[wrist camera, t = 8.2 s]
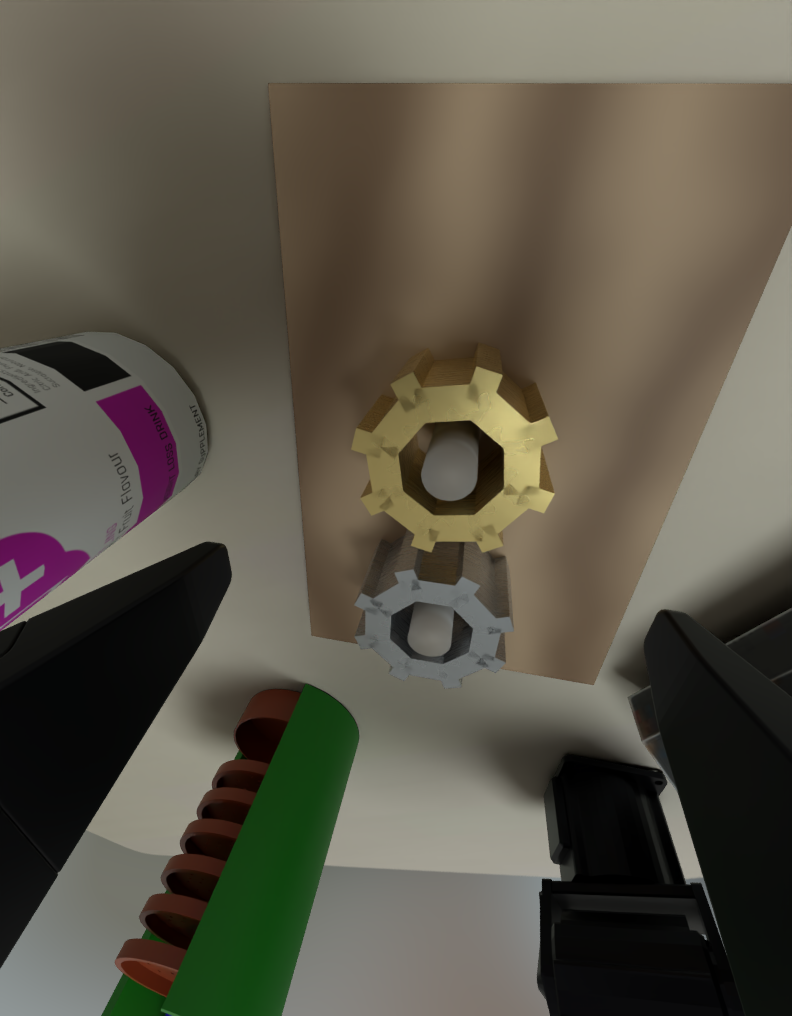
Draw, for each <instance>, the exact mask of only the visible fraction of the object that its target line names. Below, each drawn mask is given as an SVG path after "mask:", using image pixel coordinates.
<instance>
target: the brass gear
mask: <svg viewBox="0 0 792 1016" xmlns="http://www.w3.org/2000/svg"><path fill="white" fill-rule="evenodd" d="M390 385H391V387H392V389H393V390H394V392H395V394H396V397H395V398H391V397H388V396H385V395H382V394H381V396H380V397H379V398H378V400H377V401H376V402H375V404H374V405H373V406H372V408H371V409H370V410H369V412H368V413H367V414H366V416H365V417H364V418H363V420H362V421H361V422H360V423H359V425H358V426H357V427H356V431H355V435H354V439H353V443H352V448H351V450H354V451H357V452H360V453H363V454H366V457H367V463H368V469H369V475H370V480H369V482H368V484H367V486H366V488H365V490H364V492H363V494H362V495H361V497H360V499H361V500H362V502H363V504H364V505H365V507H366V508H367V510H368V511H369V513H370V514H371V516H372V515H375V514H377V513H380V512H382V511H385V512H386V513H387V514H389V515H390V516H391V517H393V518H394V519H395V520H397V521H398V522H399V523H400V524H402V525H403V526H404V527H406V528H407V529H408V530H410V531H411V532H412V533H414V536H413V540H412V543H411V546H413V547H416V548H419V549H422V550H425V551H428V552H432V550H433V547H434V545H435V542H477V544H478V546H479V547H480V549H481V551H482V553H483V552H486V551H489V550H492V549H495V548H498V547H502V546H503V529H504V528H506V527H507V526H508V525H509V524H510V523H512V522H513V521H514V520H515V519H516V518H518V517H519V516H520V515H521V514H522V513H524V512H525V511H526V510H527V509H528V508H529V509H532V510H535V511H538V512H541V513H544V512H545V511H546V509H547V507H548V505H549V503H550V501H551V500H552V498H553V496H554V494H555V492H554V489H553V485H552V482H551V478H550V475H549V471H548V468H547V464H546V461H545V457H544V454H543V450H542V447H541V446H543V445H546V444H548V443H551V442H553V441H555V440H558V437H557V435H556V432H555V430H554V427H553V425H552V422H551V419H550V417H549V414H548V412H547V409H546V406H545V404H544V401H543V399H542V396H541V394H540V392H539V389H538V387H537V384H536V383H534V384H531V385H529V386H527V387H525V388H523V389H521V388H520V387H519V386H518V385H517V384H516V383H515V382H514V381H513V380H512V379H510V378H509V377H508V376H507V375H506V374H505V373H504V372H503V371H502V364H501V357H500V350H499V349H497V348H494V347H491V346H488V345H485V344H482V343H478V346H477V349H476V351H475V354H474V357H467V358H456V359H446V360H434V358H433V356H432V354H431V352H430V350H429V348H426V349H425V350H423V351H421V352H419V353H417V354H416V355H414V356H412V357H410V358H409V360H408V361H407V362H406V364H405V365H404V366H403V368H402V369H401V370H400V372H399V373H398V374H397V376H396V377H395V378H394V380H393V381H392V382H391V384H390ZM465 420H471V421H472V422H473V423H475V424H476V425H477V426H478V427H479V428H480V429H482V430H483V431H484V432H485V433H486V434H487V435H489V436H490V437H491V438H492V439H493V440H494V441H496V442H497V443H498V444H499V446H498V447H497V448H496V449H495V450H494V451H493V452H492V453H491V454H490V455H489V456H488V457H486V458H485V459H484V460H483V461H482V462H481V463H480V464H479V465H478V472H477V482H476V485H475V487H474V489H473V490H472V492H471V493H470V494H468V495H467V496H466V497H464V498H462V499H459V500H455V501H445V500H441V499H438V498H436V497H434V496H432V495H431V494H430V493H429V492H428V491H427V490H426V489H425V487H424V485H423V483H422V478H421V472H422V468H423V464H424V461H425V458H426V453H425V452H423V451H422V450H421V449H420V448H419V447H418V438H417V432H418V431H419V430H420V428H421V427H422V426H423V425H424V424H425V423H433V422H449V421H465Z"/></svg>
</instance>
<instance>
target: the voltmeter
mask: <svg viewBox="0 0 792 1016" xmlns="http://www.w3.org/2000/svg"><path fill="white" fill-rule="evenodd" d="M725 645H727V646H728V647H729V648H730V649H732V650H733V651H734V652H735V653H737V654H738V655H739V656H741V657H742V658H743V659H744V660H746V661H747V662H748V663H749V664H751V665H752V666H753V667H754V668H756V669H757V670H758V671H759V672H761V673H762V674H763V675H764V676H766V677H767V678H768V679H770V680H771V681H772V682H773V683H775V684H776V685H777V686H778V687H780V688H781V689H782V690H783V691H785V692H786V693H787V694H788V695H790V696H791V697H792V608H790V609H788V610H787V611H785V612H783V613H781V614H779V615H777V616H776V617H774V618H772V619H770V620H768V621H766V622H765V623H763V624H761V625H759V626H757V627H755V628H754V629H752V630H750V631H748V632H746V633H744V634H743V635H741V636H739V637H737V638H735V639H734V640H732V641H730V642H728V643H726V644H725ZM628 700H629V703H630V706H631V709H632V712H633V715H634V719H635V722H636V725H637V728H638V731H639V734H640V737H641V741H642V742H643V744H644V745H645V747H646V748H647V750H648V751H649V752H650V754H651V755H652V757H653V758H654V759H655V761H656V762H657V764H658V765H659V767H660V768H661V769H662V771H663V772H664V774H665V775H666V777H667V778H668V779H669V781H670V782H671V784H672V785H673V786H674V788H675V789H676V791H677V788H676V785H675V782H674V778H673V775H672V772H671V768H670V765H669V762H668V758H667V755H666V752H665V748H664V745H663V742H662V738H661V735H660V731H659V727H658V723H657V719H656V714H655V708H654V703H653V697H652V692H651V686H648V687H646V688H644V689H642V690H640V691H639V692H637V693H635V694H633V695H631V696H629V697H628ZM677 792H678V791H677Z"/></svg>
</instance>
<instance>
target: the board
mask: <svg viewBox="0 0 792 1016" xmlns="http://www.w3.org/2000/svg"><path fill="white" fill-rule="evenodd" d="M268 89H269V102H270V115H271V127H272V140H273V153H274V166H275V178H276V191H277V204H278V216H279V229H280V242H281V254H282V267H283V280H284V292H285V305H286V318H287V330H288V343H289V356H290V368H291V381H292V394H293V406H294V419H295V432H296V444H297V457H298V470H299V483H300V495H301V508H302V521H303V533H304V546H305V559H306V571H307V584H308V597H309V609H310V622H311V635H312V636H316V637H322V638H328V639H333V640H339V641H345V642H351V643H356V644H358V643H357V641H356V639H355V637H354V636H355V633H356V630H357V627H358V625H359V622H360V619H361V616H362V613H363V609H361V608H359V607H357V606H355V605H354V604H355V602H356V599H357V596H358V594H359V591H360V588H361V586H362V583H363V580H364V578H365V575H366V573H367V570H368V567H369V565H370V562H371V559H372V557H373V554H374V551H375V549H376V547H377V546H378V544H379V542H380V540H381V539H383V540H385V541H387V542H389V543H393V542H394V541H396V540H397V539H399V538H400V537H402V536H403V535H405V534H406V531H407V528H406V527H404V526H403V525H402V524H400V523H399V522H398V521H397V520H395V519H394V518H393V517H391V516H390V515H389V514H387V513H386V512H385V511H382V512H380V513H377V514H375V515H372V516H371V514H370V513H369V511H368V510H367V508H366V507H365V505H364V504H363V502H362V500H361V499H360V497H361V495H362V494H363V492H364V490H365V488H366V486H367V484H368V482H369V480H370V475H369V469H368V463H367V457H366V454H363V453H360V452H357V451H354V450H351V448H352V443H353V439H354V435H355V431H356V427H357V426H358V425H359V423H360V422H361V421H362V420H363V418H364V417H365V416H366V414H367V413H368V412H369V410H370V409H371V408H372V406H373V405H374V404H375V402H376V401H377V400H378V398H379V397H380V396H381V394H382V395H385V396H388V397H391V398H395V397H396V394H395V392H394V390H393V389H392V387H391V385H390V384H391V382H392V381H393V380H394V378H395V377H396V376H397V374H398V373H399V372H400V370H401V369H402V368H403V366H404V365H405V364H406V362H407V361H408V360H409V358H410V357H412V356H414V355H416V354H417V353H419V352H421V351H423V350H425V349H426V348H429V350H430V352H431V354H432V356H433V358H434V360H446V359H456V358H467V357H474V354H475V351H476V349H477V346H478V343H482V344H485V345H488V346H491V347H494V348H497V349H499V350H500V357H501V364H502V371H503V372H504V373H505V374H506V375H507V376H508V377H509V378H510V379H512V380H513V381H514V382H515V383H516V384H517V385H518V386H519V387H520V388H521V389H523V388H525V387H527V386H529V385H531V384H534V383H536V384H537V387H538V389H539V392H540V394H541V396H542V399H543V401H544V404H545V406H546V409H547V412H548V414H549V417H550V419H551V422H552V425H553V427H554V430H555V432H556V435H557V437H558V440H555V441H553V442H551V443H548V444H546V445H543V446H541V447H542V450H543V454H544V457H545V461H546V464H547V468H548V471H549V475H550V478H551V482H552V485H553V489H554V492H555V494H554V496H553V498H552V500H551V501H550V503H549V505H548V507H547V509H546V511H545V512H544V513H541V512H538V511H535V510H532V509H529V508H528V509H527V510H526V511H525V512H524V513H522V514H521V515H520V516H519V517H518V518H516V519H515V520H514V521H513V522H512V523H510V524H509V525H508V526H507V527H506V528H504V529H503V546H502V547H498V548H495V549H492V550H489V551H488V552H489V553H490V554H491V555H492V556H493V557H494V558H498V557H504V556H506V559H507V562H508V566H509V569H510V582H511V595H512V609H513V623H514V631H513V632H505V653H506V663H505V664H504V665H503V666H502V667H501V668H500V669H505V670H510V671H516V672H522V673H527V674H533V675H539V676H545V677H550V678H556V679H562V680H567V681H573V682H579V683H585V684H590V685H594V683H595V681H596V678H597V676H598V674H599V671H600V669H601V667H602V664H603V662H604V660H605V657H606V655H607V653H608V651H609V648H610V646H611V644H612V641H613V639H614V637H615V634H616V632H617V630H618V627H619V625H620V623H621V620H622V618H623V616H624V613H625V611H626V609H627V606H628V604H629V602H630V599H631V597H632V595H633V592H634V590H635V588H636V586H637V583H638V581H639V579H640V576H641V574H642V572H643V569H644V567H645V565H646V562H647V560H648V558H649V555H650V553H651V551H652V548H653V546H654V544H655V541H656V539H657V537H658V534H659V532H660V530H661V528H662V525H663V523H664V521H665V518H666V516H667V514H668V511H669V509H670V507H671V504H672V502H673V500H674V497H675V495H676V493H677V490H678V488H679V486H680V483H681V481H682V479H683V476H684V474H685V472H686V470H687V467H688V465H689V463H690V460H691V458H692V456H693V453H694V451H695V449H696V446H697V444H698V442H699V439H700V437H701V435H702V432H703V430H704V428H705V425H706V423H707V421H708V418H709V416H710V414H711V412H712V409H713V407H714V405H715V402H716V400H717V398H718V395H719V393H720V391H721V388H722V386H723V384H724V381H725V379H726V377H727V374H728V372H729V370H730V367H731V365H732V363H733V360H734V358H735V356H736V354H737V351H738V349H739V347H740V344H741V342H742V340H743V337H744V335H745V333H746V330H747V328H748V326H749V323H750V321H751V319H752V316H753V314H754V312H755V309H756V307H757V305H758V302H759V300H760V298H761V296H762V293H763V291H764V289H765V286H766V284H767V282H768V279H769V277H770V275H771V272H772V270H773V268H774V265H775V263H776V261H777V258H778V256H779V254H780V251H781V249H782V247H783V244H784V242H785V240H786V238H787V235H788V233H789V231H790V228H791V226H792V84H534V83H268ZM417 438H418V447H419V448H420V449H421V450H422V451H423V452H425V453H426V458H425V461H424V464H423V468H422V472H421V478H422V483H423V485H424V487H425V489H426V490H427V491H428V492H429V493H430V494H431V495H432V496H434V497H436V498H438V499H441V500H445V501H455V500H459V499H462V498H464V497H466V496H467V495H468V494H470V493H471V492H472V490H473V489H474V487H475V485H476V482H477V472H478V465H479V464H480V463H481V462H482V461H483V460H484V459H485V458H486V457H488V456H489V455H490V454H491V453H492V452H493V451H494V450H495V449H496V448H497V447H498V446H499V444H498V443H497V442H496V441H494V440H493V439H492V438H491V437H490V436H489V435H487V434H486V433H485V432H484V431H483V430H482V429H480V428H479V427H478V426H477V425H476V424H475V423H473V422H472V421H471V420H465V421H449V422H433V423H425V424H424V425H423V426H422V427H421V428H420V430H419V431H418V432H417ZM453 617H454V609H453V608H452V607H449V606H443V605H437V604H431V603H424V602H418V601H416V602H415V604H414V609H413V614H412V619H411V624H410V628H409V633H408V643H409V645H410V647H411V648H412V649H413V650H414V651H416V652H417V653H419V654H421V655H424V656H430V657H435V656H440V655H443V654H445V653H446V652H447V651H448V650H449V649H450V647H451V639H452V628H453Z"/></svg>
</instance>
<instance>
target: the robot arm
mask: <svg viewBox="0 0 792 1016" xmlns="http://www.w3.org/2000/svg"><path fill="white" fill-rule="evenodd" d="M231 578H232V571H231V566H230V561H229V556H228V551H227V548H226V546H225V545H224V544H221V543H215V542H204V543H201V544H199V545H197V546H194V547H192V548H190V549H188V550H185V551H183V552H181V553H178V554H176V555H174V556H172V557H169V558H167V559H165V560H162V561H160V562H158V563H156V564H153V565H151V566H149V567H146V568H144V569H142V570H140V571H137V572H135V573H133V574H130V575H128V576H126V577H124V578H121V579H119V580H117V581H114V582H112V583H110V584H108V585H105V586H103V587H101V588H98V589H96V590H94V591H92V592H89V593H87V594H85V595H82V596H80V597H78V598H76V599H73V600H71V601H69V602H66V603H64V604H62V605H60V606H57V607H55V608H53V609H50V610H48V611H46V612H44V613H41V614H39V615H37V616H34V617H32V618H30V619H29V620H28V621H27V622H26V621H23V622H20V623H18V624H16V625H14V626H11V627H9V628H7V629H5V630H2V631H0V968H1V967H2V965H3V963H4V961H5V960H6V959H7V957H8V955H9V954H10V952H11V950H12V948H13V947H14V946H15V944H16V942H17V941H18V939H19V938H20V936H21V934H22V932H23V931H24V929H25V928H26V926H27V925H28V923H29V921H30V920H31V918H32V916H33V915H34V913H35V912H36V910H37V908H38V907H39V905H40V904H41V902H42V900H43V899H44V897H45V896H46V894H47V892H48V891H49V889H50V887H51V886H52V884H53V883H54V881H55V879H56V878H57V876H58V872H60V871H61V869H62V867H63V866H64V864H65V863H66V861H67V859H68V858H69V856H70V854H71V853H72V851H73V850H74V848H75V846H76V845H77V843H78V842H79V840H80V838H81V837H82V835H83V833H84V832H85V830H86V829H87V827H88V825H89V824H90V822H91V821H92V819H93V817H94V816H95V814H96V812H97V811H98V809H99V808H100V806H101V804H102V803H103V801H104V800H105V798H106V796H107V795H108V793H109V791H110V790H111V788H112V787H113V785H114V783H115V782H116V780H117V779H118V777H119V775H120V774H121V772H122V770H123V769H124V767H125V766H126V764H127V762H128V761H129V759H130V758H131V756H132V754H133V753H134V751H135V749H136V748H137V746H138V745H139V743H140V741H141V740H142V738H143V737H144V735H145V733H146V732H147V730H148V728H149V727H150V725H151V724H152V722H153V720H154V719H155V717H156V716H157V714H158V712H159V711H160V709H161V707H162V706H163V704H164V703H165V701H166V699H167V698H168V696H169V695H170V693H171V691H172V690H173V688H174V686H175V685H176V683H177V682H178V680H179V678H180V677H181V675H182V673H183V672H184V670H185V669H186V667H187V665H188V664H189V662H190V661H191V659H192V657H193V656H194V654H195V652H196V651H197V649H198V647H199V646H200V644H201V642H202V640H203V638H204V636H205V635H206V633H207V631H208V628H209V626H210V624H211V622H212V620H213V618H214V616H215V614H216V612H217V610H218V608H219V606H220V603H221V601H222V599H223V597H224V595H225V593H226V591H227V589H228V587H229V585H230V582H231ZM644 653H645V659H646V664H647V670H648V675H649V681H650V686H651V692H652V697H653V703H654V708H655V714H656V719H657V723H658V727H659V731H660V735H661V738H662V742H663V745H664V748H665V752H666V755H667V758H668V762H669V765H670V768H671V772H672V775H673V778H674V782H675V785H676V788H677V791H678V795H679V798H680V801H681V805H682V808H683V811H684V815H685V818H686V821H687V825H688V828H689V831H690V835H691V838H692V841H693V845H694V848H695V851H696V855H697V858H698V861H699V865H700V868H701V871H702V875H703V878H704V881H705V884H706V887H707V891H708V894H709V898H710V901H711V904H712V907H713V911H714V914H715V918H716V921H717V924H718V928H719V931H720V934H721V938H722V940H721V938H720V935H719V932H718V929H717V927H716V924H715V921H714V918H713V915H712V912H711V909H710V907H709V904H708V901H707V898H706V896H705V893H704V890H703V887H702V884H701V883H690V884H691V885H687V884H686V881H685V878H684V875H683V872H682V869H681V866H680V863H679V859H678V856H677V853H676V850H675V847H674V844H673V840H672V837H671V834H670V831H669V828H668V825H667V822H666V818H665V815H664V812H663V809H662V806H661V803H660V799H659V795H660V794H661V792H662V791H663V789H664V788H665V786H666V785H667V780H666V777H665V775H664V774H662V773H660V772H655V771H650V770H644V769H639V768H634V767H629V766H624V765H619V764H614V763H609V762H604V761H599V760H594V759H589V758H584V757H578V756H573V755H566V756H564V757H563V758H562V761H561V763H560V765H559V768H558V770H557V772H556V775H555V776H553V777H552V778H551V780H550V782H549V785H548V787H547V789H546V792H545V794H544V803H545V812H546V822H547V831H548V841H549V850H550V858H551V860H552V861H553V863H555V864H559V865H560V873H561V881H552V880H551V879H542V891H541V892H539V897H540V950H539V960H538V970H537V984H538V988H539V990H540V992H541V993H542V995H543V996H544V998H545V999H546V1001H547V1005H548V1008H549V1013H550V1016H792V697H791V696H790V695H788V694H787V693H786V692H785V691H783V690H782V689H781V688H780V687H778V686H777V685H776V684H775V683H773V682H772V681H771V680H770V679H768V678H767V677H766V676H764V675H763V674H762V673H761V672H759V671H758V670H757V669H756V668H754V667H753V666H752V665H751V664H749V663H748V662H747V661H746V660H744V659H743V658H742V657H741V656H739V655H738V654H737V653H735V652H734V651H733V650H732V649H730V648H729V647H728V646H727V645H725V644H724V643H723V642H722V641H720V640H719V639H718V638H717V637H715V636H714V635H713V634H712V633H710V632H709V631H708V630H706V629H705V628H704V627H703V626H701V625H700V624H699V623H698V622H696V621H695V620H694V619H693V618H691V617H690V616H689V615H687V614H686V613H684V612H679V611H673V610H666V609H664V610H660V611H659V612H658V613H657V615H656V617H655V619H654V621H653V623H652V625H651V627H650V629H649V631H648V633H647V635H646V638H645V641H644ZM701 934H705V935H706V938H707V940H705V939H704V936H702V935H701ZM722 941H723V943H722ZM723 944H724V946H723ZM724 948H725V949H724ZM725 951H726V952H725ZM726 954H727V955H726Z"/></svg>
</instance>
